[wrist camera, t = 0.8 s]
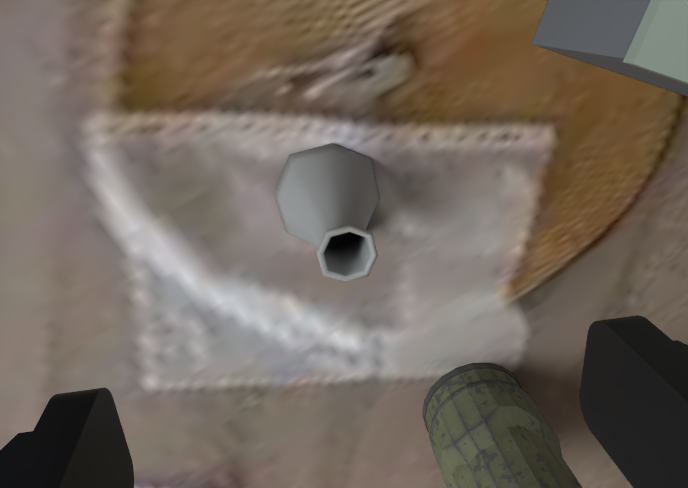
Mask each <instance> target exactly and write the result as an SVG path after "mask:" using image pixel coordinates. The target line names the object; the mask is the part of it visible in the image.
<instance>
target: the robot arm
mask: <svg viewBox="0 0 688 488" xmlns="http://www.w3.org/2000/svg"><path fill="white" fill-rule="evenodd" d="M580 405H581V410H582V413H583V416H584V419H585V421H586V424H587V426H588V427H589V429H590V431H591V432H592V433H593V435H594V436H595V437H596V439H597V440H598V441H599V443H600V444H601V445H602V447H603V448H604V449H605V451H606V452H607V453H608V455H609V456H610V457H611V459H612V460H613V461H614V463H615V464H616V465H617V467H618V468H619V469H620V471H621V472H622V473H623V474H624V476H625V477H626V478H627V480H628V481H629V482H630V484H631V485H632V486H633V488H688V345H686V344H684V343H682V342H680V341H672V340H671V339H670V338H669V337H668V336H667V335H665V334H664V333H663V332H662V331H661V330H659V329H658V328H657V327H656V326H655V325H653V324H652V323H651V322H650V321H649V320H647V319H646V318H644V317H642V316H630V317H623V318H616V319H608V320H601V321H595V322H593V323H592V324H591V326H590V328H589V330H588V335H587V343H586V350H585V358H584V365H583V373H582V380H581V388H580ZM0 488H134V471H133V464H132V459H131V456H130V452H129V449H128V446H127V442H126V439H125V436H124V433H123V429H122V426H121V423H120V419H119V416H118V413H117V410H116V406H115V403H114V400H113V397H112V395H111V393H110V391H109V390H108V389H107V388H99V389H91V390H84V391H77V392H70V393H62V394H56V395H54V396H53V397H52V398H51V399H50V400H49V402H48V404H47V406H46V408H45V410H44V412H43V414H42V415H41V417H40V419H39V421H38V423H37V425H36V427H35V429H34V431H32V432H25V433H18V434H17V435H16V436H15V437H14V438H13V439H12V440H11V441H10V442H9V443H8V444H7V445H6V446H4V447H3V448H2V449H1V450H0Z"/></svg>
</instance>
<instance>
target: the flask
mask: <svg viewBox="0 0 688 488" xmlns="http://www.w3.org/2000/svg"><path fill="white" fill-rule="evenodd" d="M274 195H275V199H276V202H277V205H278V208H279V211H280V215H281V218H282V221H283V224H284V227H285V230H286V232H287V233H289V234H291V235H293V236H296V237H298V238H301V239H303V240H305V241H307V242H308V243H310V244H312V245H314V246H316V247H317V248H318V250H317V256H318V259H319V262H320V266H321V269H322V273H323V275H324V276H327V277H330V278H334V279H337V280H340V281H343V282H348V281H352V280H355V279H359V278H362V277H366V276H368V275H369V273H370V271H371V269H372V266H373V264H374V262H375V260H376V258H377V256H378V255H377V250H376V246H375V242H374V238H373V234H372V232H370V231H368V230H366V228H367V225H368V223H369V221H370V219H371V217H372V215H373V212H374V210H375V208H376V206H377V204H378V201H379V199H380V196H379V192H378V187H377V183H376V178H375V174H374V170H373V165H372V161H371V159H370V158H368V157H365V156H362V155H360V154H357V153H355V152H352V151H350V150H347V149H345V148H342V147H340V146H337V145H334V144H332V143H331V144H328V145H324V146H321V147H317V148H313V149H310V150H306V151H302V152H299V153H295V154H291V155H289V158H288V160H287V163H286V165H285V168H284V170H283V173H282V175H281V178H280V180H279V183H278V186H277V188H276V191H275V193H274Z"/></svg>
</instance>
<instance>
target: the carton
mask: <svg viewBox="0 0 688 488" xmlns="http://www.w3.org/2000/svg"><path fill="white" fill-rule="evenodd" d="M650 1H651V0H548V3H547V5H546V8H545V10H544V13H543V15H542V18H541V21H540V23H539V26H538V28H537V31H536V33H535V36H534V38H533V41H532V44H533V45H536V46H539V47H542V48H545V49H548V50H551V51H553V52H556V53H559V54H562V55H565V56H568V57H571V58H574V59H577V60H580V61H583V62H586V63H589V64H592V65H595V66H598V67H601V68H604V69H607V70H610V71H613V72H616V73H619V74H622V75H625V76H628V77H631V78H634V79H637V80H640V81H643V82H646V83H648V84H651V85H654V86H657V87H660V88H663V89H666V90H669V91H672V92H675V93H678V94H681V95H684V96H687V97H688V84H685V83H682V82H679V81H676V80H673V79H670V78H668V77H665V76H662V75H659V74H656V73H653V72H650V71H647V70H644V69H641V68H638V67H635V66H633V65H630V64H627V63H624V62H623V60H624V58H625V56H626V54H627V51H628V49H629V47H630V45H631V43H632V40H633V38H634V36H635V34H636V32H637V29H638V27H639V25H640V23H641V20H642V18H643V16H644V14H645V12H646V9H647V7H648V5H649V3H650Z"/></svg>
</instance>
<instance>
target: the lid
mask: <svg viewBox="0 0 688 488" xmlns="http://www.w3.org/2000/svg"><path fill="white" fill-rule="evenodd" d="M623 62H624V63H627V64H630V65H633V66H635V67H638V68H641V69H644V70H647V71H650V72H653V73H656V74H659V75H662V76H665V77H668V78H670V79H673V80H676V81H679V82H682V83H685V84H688V0H651V1H650V3H649V5H648V7H647V9H646V12H645V14H644V16H643V18H642V20H641V23H640V25H639V27H638V29H637V32H636V34H635V36H634V38H633V40H632V43H631V45H630V47H629V49H628V51H627V54H626V56H625V58H624V60H623Z"/></svg>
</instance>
